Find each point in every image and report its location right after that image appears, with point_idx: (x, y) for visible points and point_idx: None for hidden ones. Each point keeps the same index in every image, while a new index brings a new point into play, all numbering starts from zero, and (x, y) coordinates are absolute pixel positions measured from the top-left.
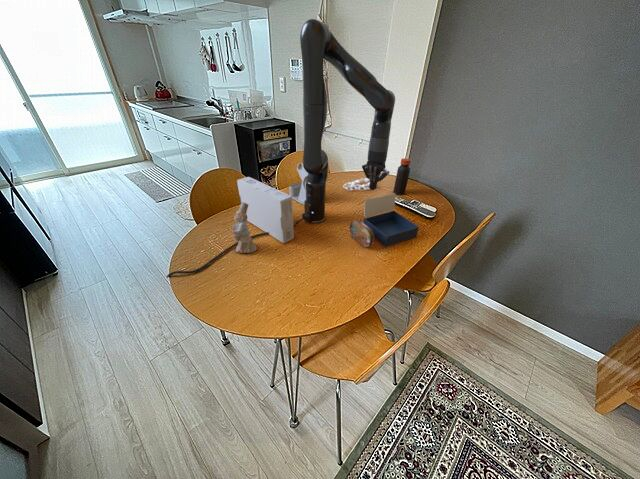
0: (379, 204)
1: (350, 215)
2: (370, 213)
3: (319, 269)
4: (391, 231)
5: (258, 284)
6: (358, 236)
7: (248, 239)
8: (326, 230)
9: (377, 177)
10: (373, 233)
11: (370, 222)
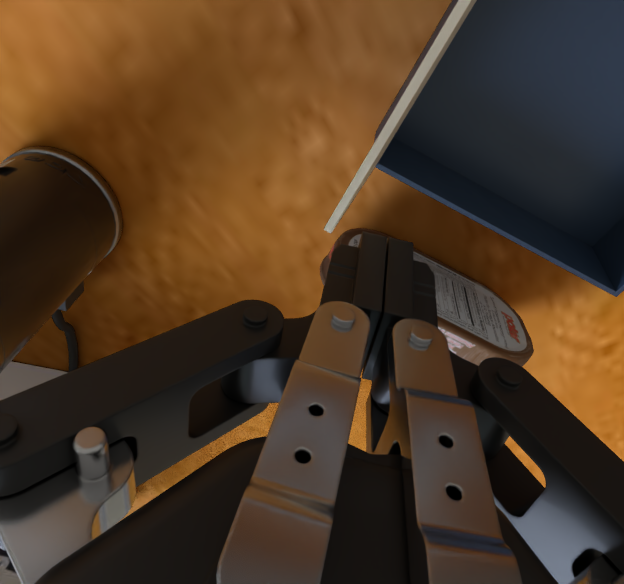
0: (461, 21)
1: (190, 2)
2: (402, 121)
3: None
4: (611, 44)
5: None
6: None
7: None
8: (208, 276)
9: (428, 392)
10: (524, 360)
11: None
